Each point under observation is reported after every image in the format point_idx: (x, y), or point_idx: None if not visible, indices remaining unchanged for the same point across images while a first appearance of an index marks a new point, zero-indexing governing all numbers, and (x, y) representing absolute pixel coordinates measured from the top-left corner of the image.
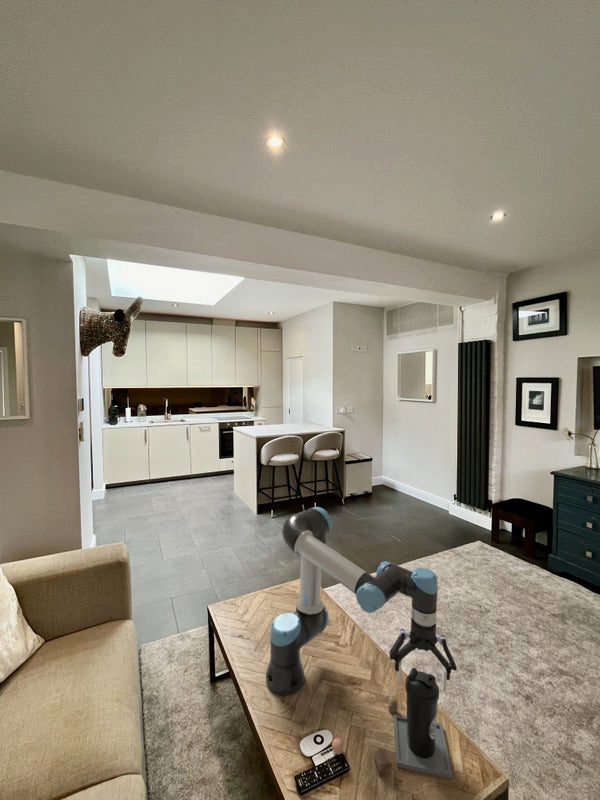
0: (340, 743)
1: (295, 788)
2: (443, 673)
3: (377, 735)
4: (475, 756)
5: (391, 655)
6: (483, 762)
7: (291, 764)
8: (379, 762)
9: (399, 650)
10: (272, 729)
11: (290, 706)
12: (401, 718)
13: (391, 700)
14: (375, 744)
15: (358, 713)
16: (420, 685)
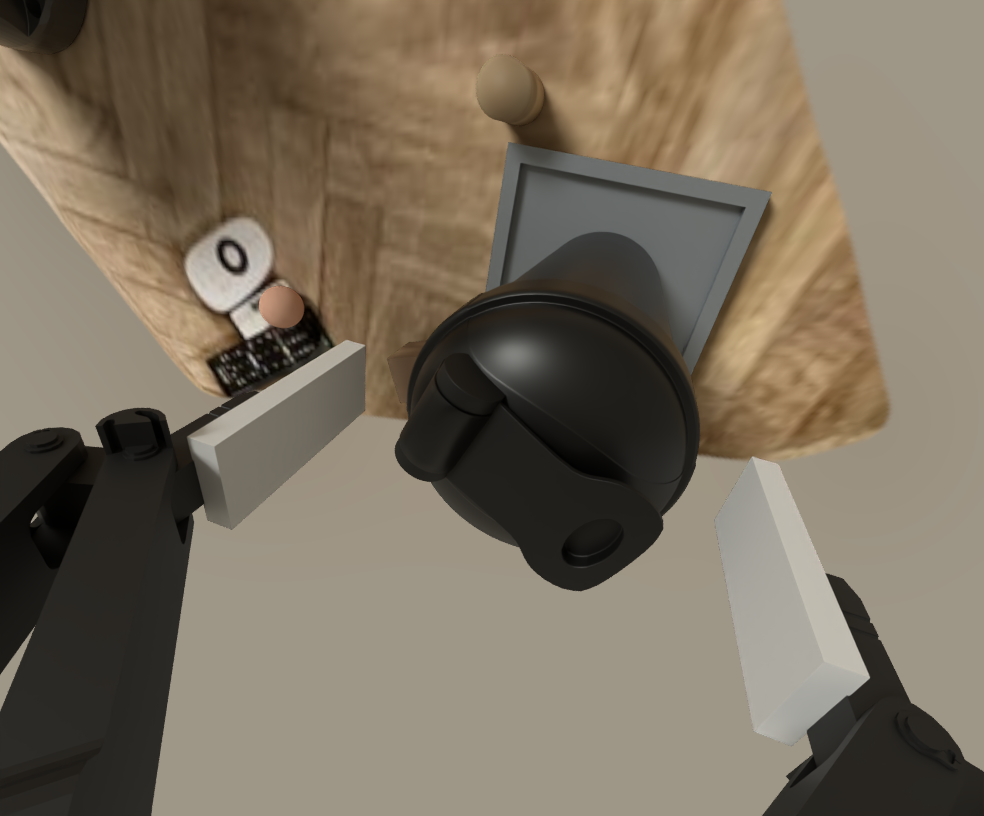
0: (279, 319)
1: (218, 388)
2: (758, 649)
3: (427, 242)
4: (847, 345)
5: (39, 546)
6: (866, 371)
7: (189, 332)
8: (400, 396)
9: (82, 523)
10: (97, 221)
11: (100, 114)
12: (545, 166)
13: (489, 100)
14: (417, 279)
15: (353, 129)
16: (487, 521)
